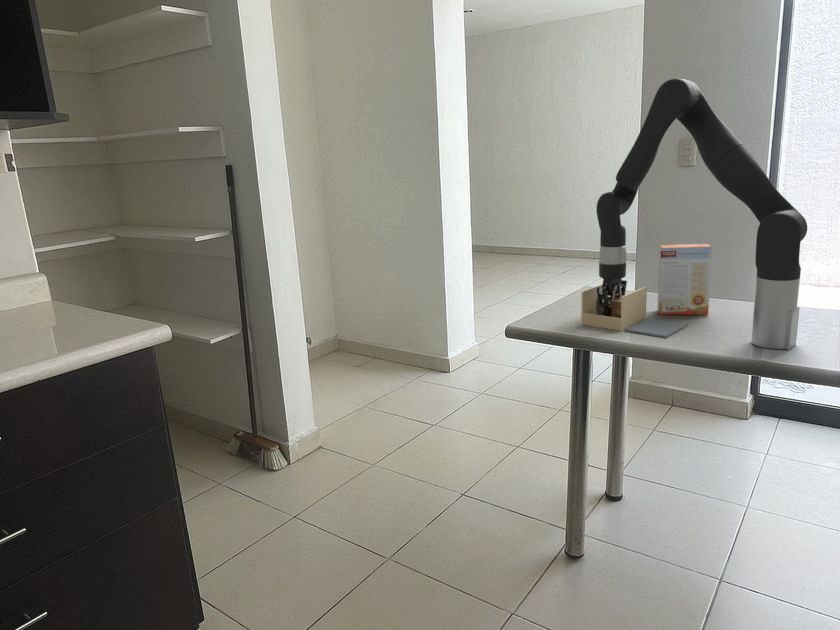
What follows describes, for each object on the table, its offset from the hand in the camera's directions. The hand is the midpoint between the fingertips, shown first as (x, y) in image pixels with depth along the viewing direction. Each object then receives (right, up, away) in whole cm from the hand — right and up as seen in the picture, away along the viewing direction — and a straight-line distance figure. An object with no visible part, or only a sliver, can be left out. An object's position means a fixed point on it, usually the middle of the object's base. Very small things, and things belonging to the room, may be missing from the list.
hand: (611, 317), depth 180 cm
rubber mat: (+10, -3, -9) cm, 14 cm away
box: (+1, -1, 0) cm, 2 cm away
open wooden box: (+1, -1, 0) cm, 2 cm away
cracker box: (+23, +1, +5) cm, 24 cm away
